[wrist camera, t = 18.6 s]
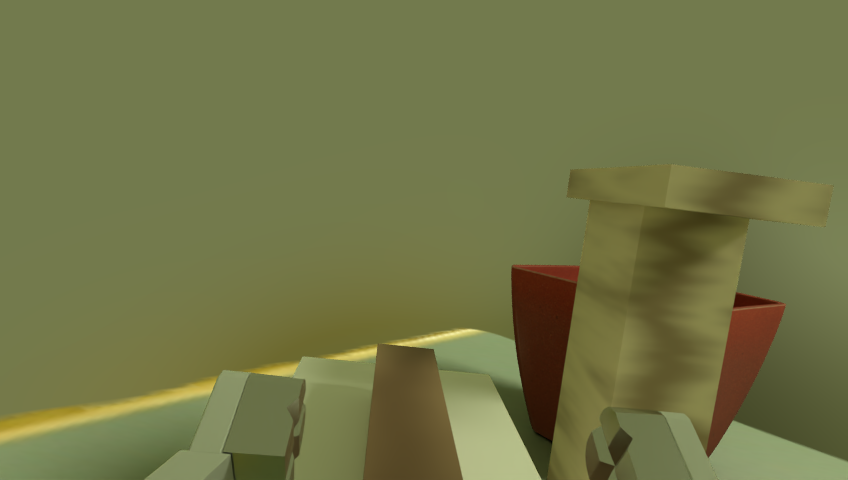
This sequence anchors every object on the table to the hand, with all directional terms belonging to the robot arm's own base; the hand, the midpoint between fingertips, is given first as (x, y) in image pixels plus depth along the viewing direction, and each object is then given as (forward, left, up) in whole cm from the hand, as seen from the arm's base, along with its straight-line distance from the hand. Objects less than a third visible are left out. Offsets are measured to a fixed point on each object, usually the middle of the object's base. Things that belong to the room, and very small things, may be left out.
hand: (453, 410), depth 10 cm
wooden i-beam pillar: (-15, -21, -19) cm, 33 cm away
